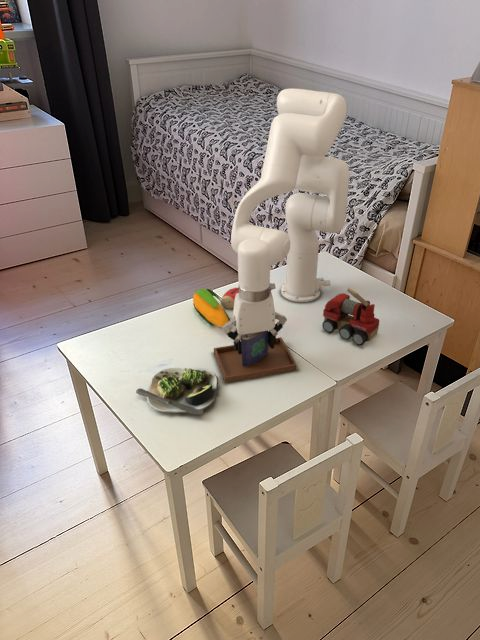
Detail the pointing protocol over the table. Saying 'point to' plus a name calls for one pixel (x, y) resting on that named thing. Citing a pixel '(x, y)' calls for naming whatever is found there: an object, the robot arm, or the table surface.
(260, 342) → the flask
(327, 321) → the toy fire truck
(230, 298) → the ladybug figurine
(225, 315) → the corn
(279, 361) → the tray
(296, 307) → the table surface
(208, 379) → the avocado toast plate
